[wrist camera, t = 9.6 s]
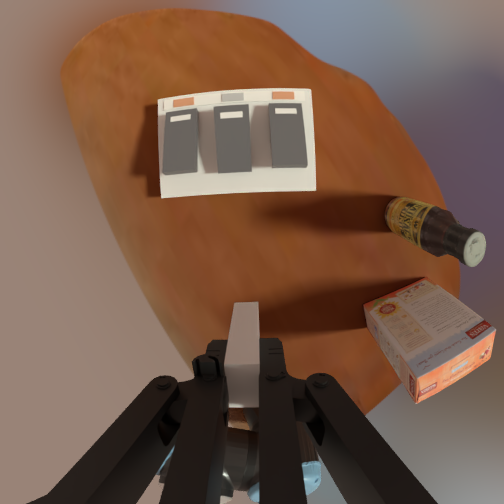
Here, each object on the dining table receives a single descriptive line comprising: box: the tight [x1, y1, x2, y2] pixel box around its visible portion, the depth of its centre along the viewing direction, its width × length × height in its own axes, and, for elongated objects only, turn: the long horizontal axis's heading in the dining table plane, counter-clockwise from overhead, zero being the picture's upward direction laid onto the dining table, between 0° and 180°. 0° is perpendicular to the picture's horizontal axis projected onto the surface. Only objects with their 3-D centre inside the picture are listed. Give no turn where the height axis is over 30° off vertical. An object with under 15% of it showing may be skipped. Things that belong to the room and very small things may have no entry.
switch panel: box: [158, 88, 316, 198], centre depth 37 cm, size 15×22×4 cm
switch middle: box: [213, 104, 252, 174], centre depth 34 cm, size 9×4×2 cm, turn 3°
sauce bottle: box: [385, 197, 486, 267], centre depth 31 cm, size 7×6×20 cm
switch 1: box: [162, 108, 199, 175], centre depth 34 cm, size 9×4×2 cm, turn 2°
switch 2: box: [268, 103, 308, 168], centre depth 33 cm, size 9×4×2 cm, turn 2°
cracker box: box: [363, 277, 496, 404], centre depth 35 cm, size 14×6×21 cm, turn 110°
